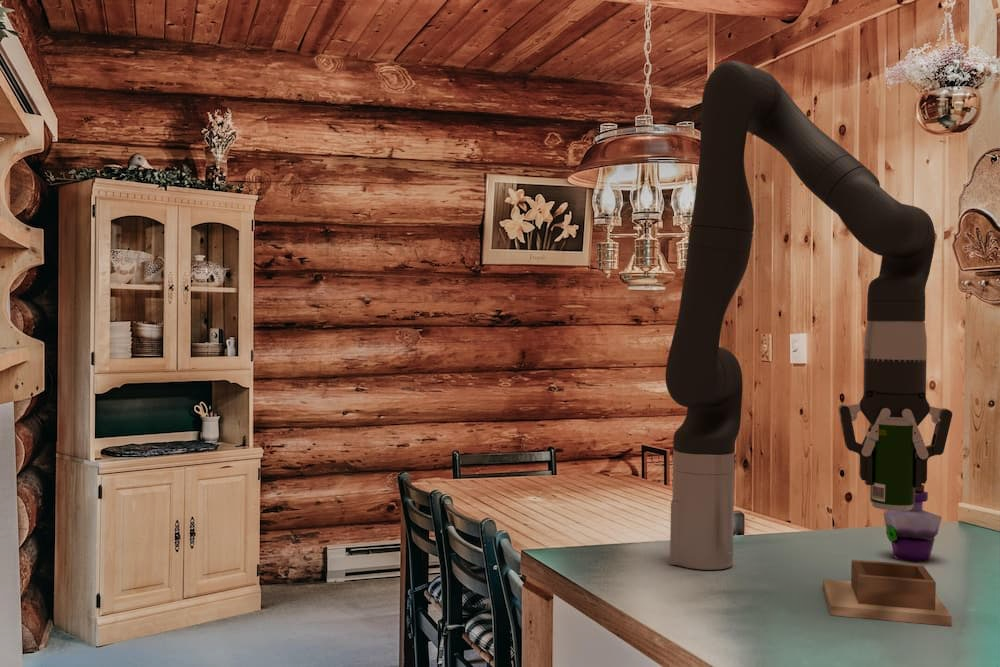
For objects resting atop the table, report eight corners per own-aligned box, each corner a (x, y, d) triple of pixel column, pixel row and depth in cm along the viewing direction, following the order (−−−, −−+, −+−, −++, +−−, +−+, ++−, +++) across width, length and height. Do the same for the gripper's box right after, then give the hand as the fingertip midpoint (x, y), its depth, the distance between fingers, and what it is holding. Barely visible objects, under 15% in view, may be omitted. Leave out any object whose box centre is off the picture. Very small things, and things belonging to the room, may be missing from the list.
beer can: (898, 512, 118) (900, 418, 118) (861, 505, 122) (862, 414, 122) (923, 508, 121) (924, 416, 121) (886, 502, 125) (887, 413, 125)
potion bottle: (870, 555, 149) (872, 480, 149) (904, 549, 154) (906, 477, 154) (918, 567, 142) (920, 489, 142) (953, 561, 146) (954, 485, 146)
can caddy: (830, 615, 118) (831, 578, 118) (822, 587, 130) (823, 554, 130) (951, 625, 114) (952, 587, 114) (931, 596, 126) (932, 562, 126)
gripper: (839, 356, 120) (837, 487, 120) (961, 358, 116) (958, 494, 116) (834, 354, 127) (832, 478, 127) (948, 356, 123) (946, 484, 123)
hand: (892, 485), depth 122 cm, fingers closed on beer can, 5 cm apart
